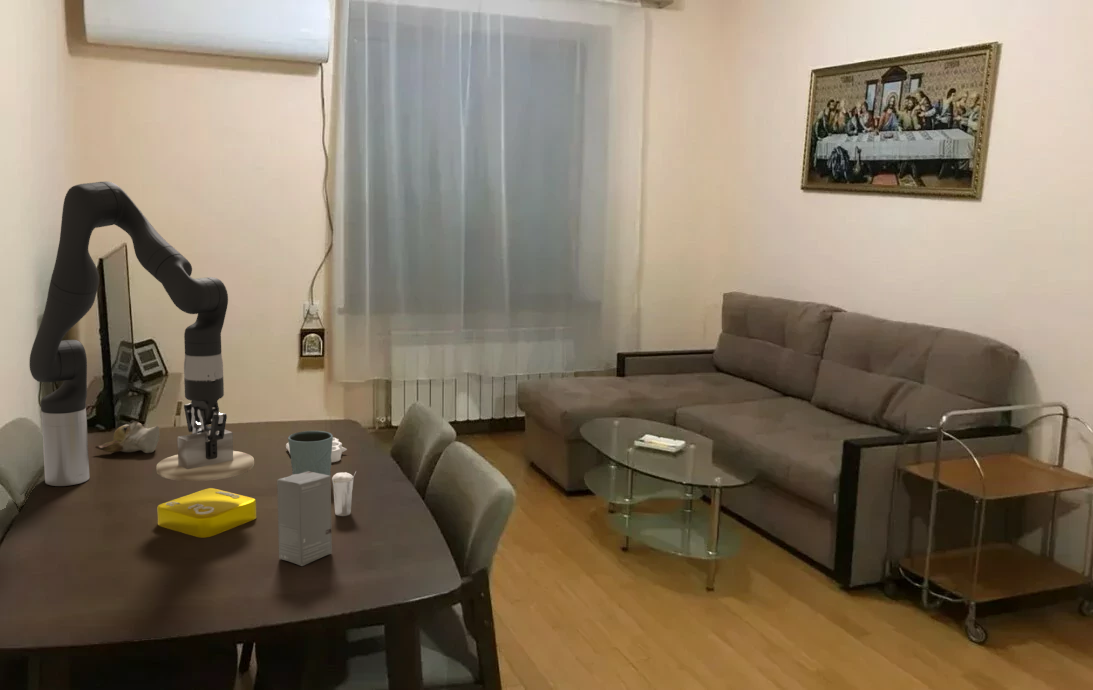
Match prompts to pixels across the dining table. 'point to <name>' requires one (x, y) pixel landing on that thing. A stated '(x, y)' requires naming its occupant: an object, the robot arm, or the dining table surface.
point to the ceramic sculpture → (133, 439)
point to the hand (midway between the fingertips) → (206, 455)
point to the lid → (204, 460)
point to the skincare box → (304, 517)
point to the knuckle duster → (336, 450)
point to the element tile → (206, 512)
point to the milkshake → (342, 493)
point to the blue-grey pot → (311, 452)
